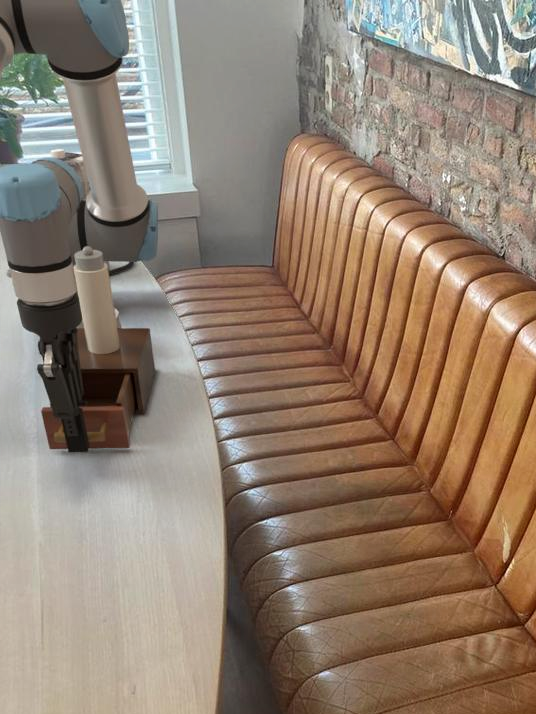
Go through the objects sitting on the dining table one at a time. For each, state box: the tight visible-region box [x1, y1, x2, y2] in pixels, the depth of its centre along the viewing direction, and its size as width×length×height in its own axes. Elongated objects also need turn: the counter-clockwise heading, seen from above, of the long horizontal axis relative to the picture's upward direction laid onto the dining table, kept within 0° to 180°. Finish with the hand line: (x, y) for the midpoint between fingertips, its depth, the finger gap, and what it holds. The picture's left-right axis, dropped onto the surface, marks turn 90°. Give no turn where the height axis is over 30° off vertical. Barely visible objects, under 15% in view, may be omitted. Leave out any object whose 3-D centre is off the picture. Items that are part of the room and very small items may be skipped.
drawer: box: [40, 373, 137, 450], centre depth 121 cm, size 19×12×7 cm, turn 5°
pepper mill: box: [73, 246, 120, 354], centre depth 125 cm, size 5×5×17 cm
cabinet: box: [77, 327, 156, 416], centre depth 133 cm, size 16×13×9 cm
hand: (79, 449), depth 113 cm, fingers closed
